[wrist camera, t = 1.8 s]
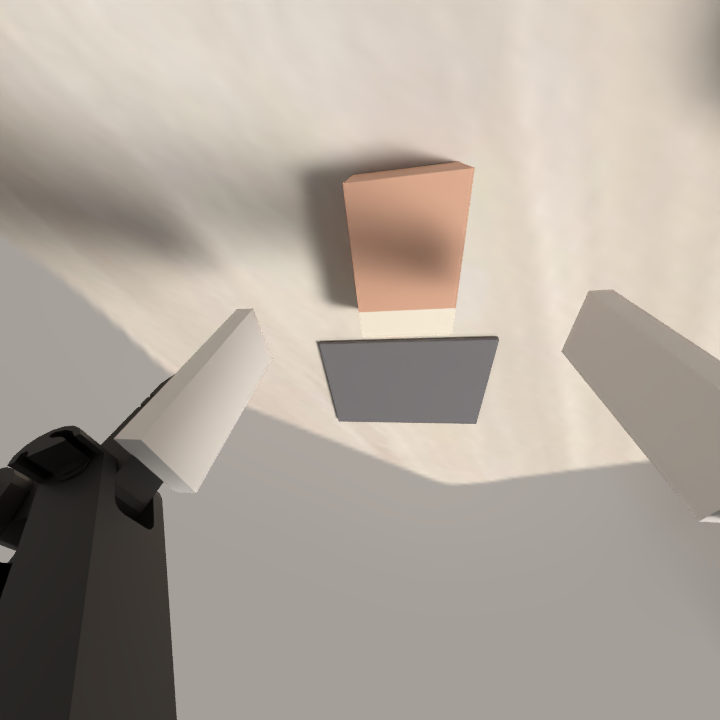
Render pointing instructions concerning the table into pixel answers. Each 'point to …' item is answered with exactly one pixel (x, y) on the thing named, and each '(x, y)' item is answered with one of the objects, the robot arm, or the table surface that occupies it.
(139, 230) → the table surface
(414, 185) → the flat block
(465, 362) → the mat
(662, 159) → the table surface
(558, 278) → the table surface
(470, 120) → the table surface
